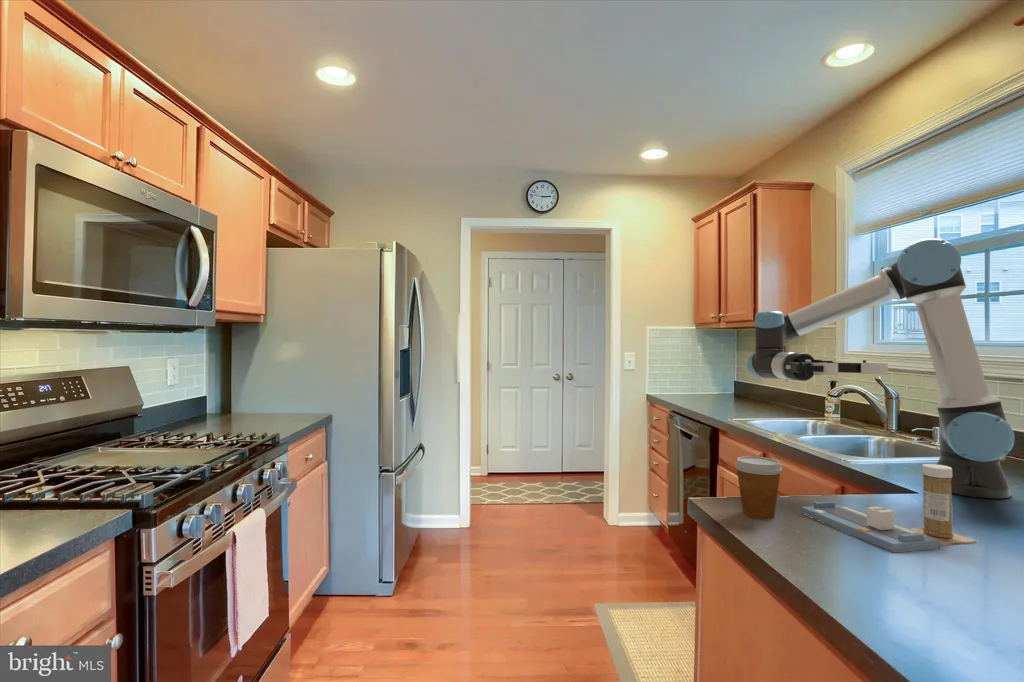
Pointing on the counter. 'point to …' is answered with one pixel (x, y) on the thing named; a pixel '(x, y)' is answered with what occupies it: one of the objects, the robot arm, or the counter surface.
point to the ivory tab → (880, 518)
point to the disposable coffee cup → (758, 485)
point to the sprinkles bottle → (937, 500)
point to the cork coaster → (947, 541)
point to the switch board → (869, 528)
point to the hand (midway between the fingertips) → (862, 369)
